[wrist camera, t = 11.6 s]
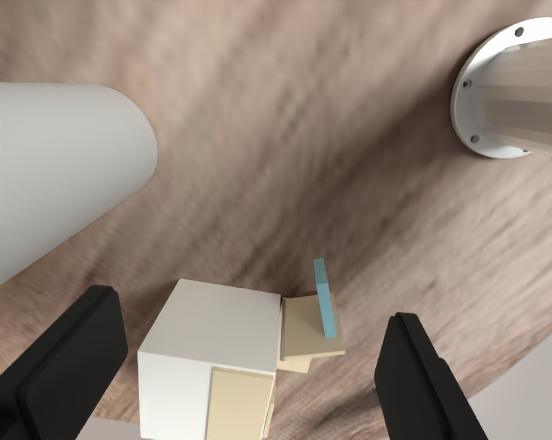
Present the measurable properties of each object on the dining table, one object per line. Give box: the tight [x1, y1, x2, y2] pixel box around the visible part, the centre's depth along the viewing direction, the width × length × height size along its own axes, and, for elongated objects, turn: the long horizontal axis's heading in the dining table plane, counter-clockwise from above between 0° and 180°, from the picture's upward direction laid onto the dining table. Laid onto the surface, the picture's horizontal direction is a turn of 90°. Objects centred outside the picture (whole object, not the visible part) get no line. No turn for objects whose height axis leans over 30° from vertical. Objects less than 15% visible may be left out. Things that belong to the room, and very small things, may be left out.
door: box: [280, 258, 345, 361], centre depth 35 cm, size 8×7×10 cm
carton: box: [138, 278, 311, 440], centre depth 39 cm, size 20×14×13 cm
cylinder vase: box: [0, 82, 158, 285], centre depth 23 cm, size 12×12×25 cm
